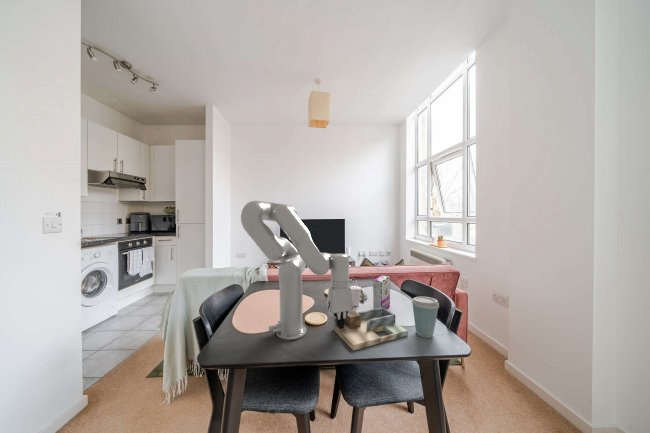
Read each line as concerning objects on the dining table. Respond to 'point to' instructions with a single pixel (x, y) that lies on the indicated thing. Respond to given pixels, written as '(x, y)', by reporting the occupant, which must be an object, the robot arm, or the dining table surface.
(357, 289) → the smoothie
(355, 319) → the walnut block
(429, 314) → the disposable coffee cup
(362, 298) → the salad plate
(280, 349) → the dining table surface
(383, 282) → the candy bar box
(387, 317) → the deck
